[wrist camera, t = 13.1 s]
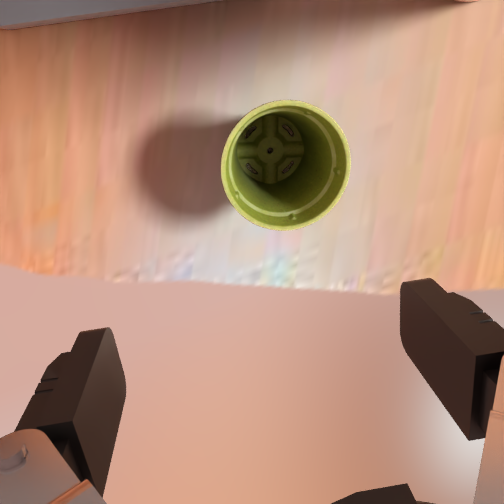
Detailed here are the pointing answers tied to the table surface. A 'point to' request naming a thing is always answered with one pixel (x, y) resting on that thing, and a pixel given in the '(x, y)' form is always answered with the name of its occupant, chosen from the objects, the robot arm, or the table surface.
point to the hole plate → (75, 10)
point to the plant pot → (285, 165)
